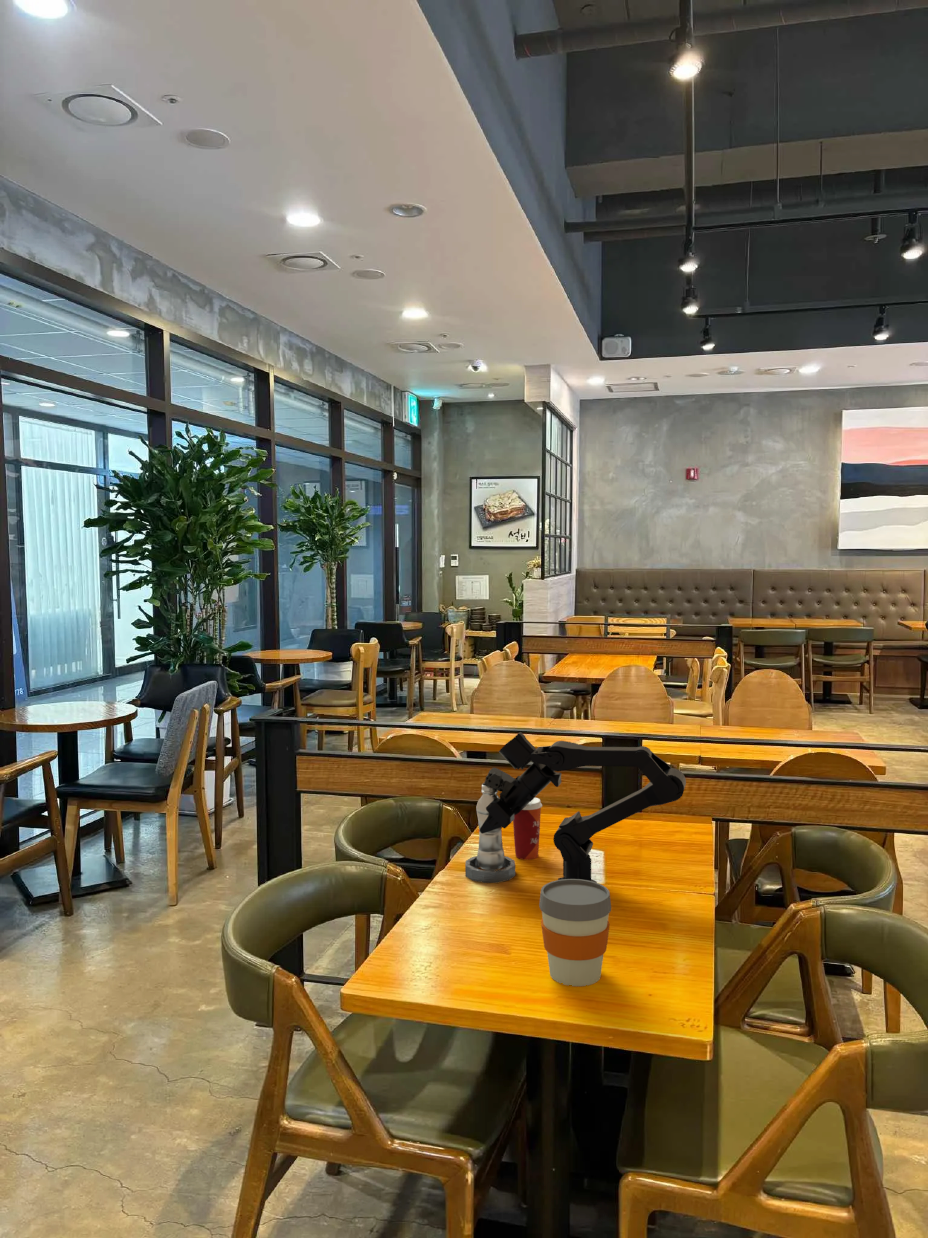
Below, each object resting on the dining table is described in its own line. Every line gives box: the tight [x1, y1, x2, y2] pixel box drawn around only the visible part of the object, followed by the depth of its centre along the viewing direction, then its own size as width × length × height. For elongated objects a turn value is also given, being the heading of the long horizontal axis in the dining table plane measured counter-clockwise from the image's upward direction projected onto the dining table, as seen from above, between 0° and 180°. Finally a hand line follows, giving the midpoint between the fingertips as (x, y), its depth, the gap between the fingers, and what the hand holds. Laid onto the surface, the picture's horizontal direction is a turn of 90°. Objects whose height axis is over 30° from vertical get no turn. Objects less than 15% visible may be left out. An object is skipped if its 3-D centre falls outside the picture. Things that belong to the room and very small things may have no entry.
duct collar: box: [464, 855, 516, 884], centre depth 205 cm, size 12×12×2 cm
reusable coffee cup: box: [538, 879, 612, 987], centre depth 155 cm, size 13×13×15 cm
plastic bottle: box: [475, 782, 506, 870], centre depth 204 cm, size 6×7×20 cm
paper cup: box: [512, 797, 543, 861], centre depth 217 cm, size 8×8×14 cm
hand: (484, 827), depth 205 cm, fingers closed on plastic bottle, 6 cm apart
